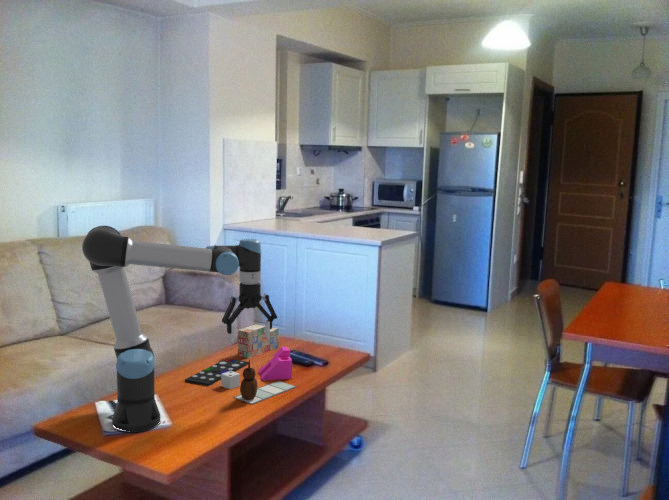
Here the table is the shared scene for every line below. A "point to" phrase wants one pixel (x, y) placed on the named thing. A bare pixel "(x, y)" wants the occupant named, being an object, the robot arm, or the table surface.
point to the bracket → (278, 366)
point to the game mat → (267, 392)
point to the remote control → (216, 371)
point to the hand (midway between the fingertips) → (249, 340)
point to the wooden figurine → (248, 383)
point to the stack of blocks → (256, 341)
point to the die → (230, 379)
